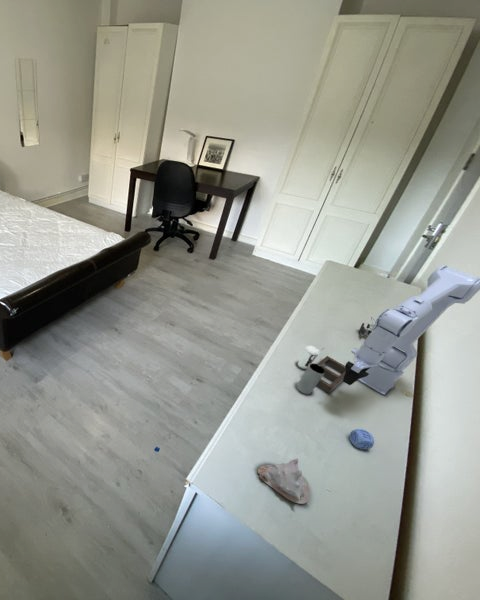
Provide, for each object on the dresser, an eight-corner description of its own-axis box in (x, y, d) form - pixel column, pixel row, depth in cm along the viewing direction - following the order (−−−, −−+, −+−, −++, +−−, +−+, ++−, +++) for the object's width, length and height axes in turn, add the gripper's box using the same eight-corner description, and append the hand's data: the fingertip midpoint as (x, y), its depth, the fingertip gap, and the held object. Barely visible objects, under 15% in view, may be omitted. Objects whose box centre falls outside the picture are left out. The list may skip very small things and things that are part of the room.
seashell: (311, 515, 78) (330, 497, 73) (258, 493, 82) (272, 475, 77) (305, 476, 86) (322, 457, 81) (257, 458, 90) (269, 439, 84)
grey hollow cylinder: (311, 396, 108) (325, 375, 102) (295, 390, 110) (309, 369, 104) (311, 387, 112) (325, 366, 106) (296, 381, 113) (309, 361, 108)
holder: (348, 375, 117) (352, 370, 115) (328, 393, 110) (332, 388, 108) (323, 361, 123) (327, 355, 121) (303, 377, 115) (306, 372, 114)
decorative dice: (353, 447, 94) (360, 439, 91) (347, 435, 97) (354, 427, 95) (368, 451, 93) (376, 443, 91) (362, 438, 96) (370, 430, 94)
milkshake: (313, 372, 118) (326, 352, 112) (297, 369, 118) (310, 349, 113) (309, 363, 121) (321, 343, 116) (293, 360, 122) (305, 341, 116)
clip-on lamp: (359, 326, 146) (357, 337, 133) (365, 313, 144) (363, 323, 131) (393, 336, 139) (394, 349, 126) (400, 323, 137) (402, 335, 124)
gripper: (370, 330, 100) (347, 361, 108) (350, 347, 93) (327, 378, 101) (397, 343, 96) (372, 374, 103) (379, 362, 89) (353, 394, 96)
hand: (351, 377), depth 102 cm, fingers open, 7 cm apart
